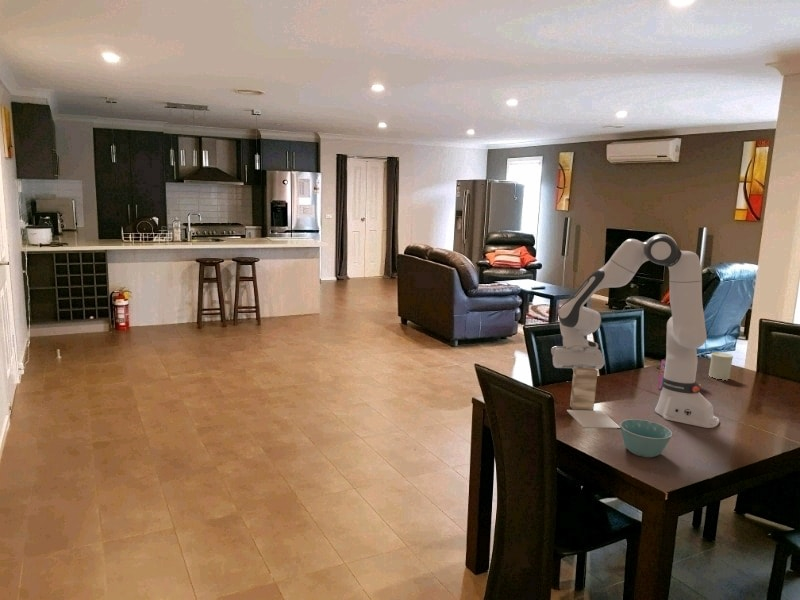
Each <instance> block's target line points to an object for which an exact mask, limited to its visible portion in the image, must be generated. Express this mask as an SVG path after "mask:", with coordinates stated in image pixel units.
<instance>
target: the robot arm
mask: <svg viewBox="0 0 800 600" xmlns="http://www.w3.org/2000/svg"><path fill="white" fill-rule="evenodd" d="M675 240H676V239H674V238H673V237H672V236H670V235H668V234H666V233H658V234H655V235H653V236H651V237H650V238H648V239H645V240H643V241H641V240H638V239H635V238H628V239H626V240H625V241H623V242H622V243H621V245H620V246H618V247H617V249H616V250H615V251H614V252H613V254H612V255H611V256H610V258H609V260H608V261H607V262H606V263H605V265H603V266H602V267H600V268H599V269H597V270H594V271H593V272H591V274H590V275H589V276H588V277H587V278H586V280H584V281H583V283H582V284H581V285H580V286H579V287H578V289H576V291H575V292H574V293H573V294H572V295H571V297H570V298H569V299H567V300H566V301H565V302H564V303H563V304H562V305H560V307H559V309H558V314H557V315H558V316H557V317H558V319H559V329H560V330H559V331H560V334H561V336H562V346H561V345H560V346H558V345H555V346H554V345H553V347H551V348H550V353H551V355H552V365H553V367H554V368H556V369H572V371H574V368H594V369H595V370H601V369H602V368H603V367H604V366H605V359H604V356H603V354H602V351H601V350H600V349H599V344H598V343H597V342H595V341H591V340H588V339H586V338H585V336H589V335H591V334H594V333H595V332H596V331H598V330H599V329H600V328H601V325H602V315H601V313H600V312H599V311H597V310H595V309H593V308H589V307H587V306H584V305H585V304H587V302H588V301H589V300H590V299H591V298H592V296H593V295H594V294H595V293H596V292H597V291H599V290H602V289H606V288H607V289H609V288H621V287H624V286H626V285H628V284H629V283H630V282H631V281H632V279H633V278H634V277H635V275H636V273H637V272H638V270H639V269H640V267H641V266H642V265H643V264H644V263H646V262H648V261H650V262H652V263H654V264H656V265H659V266H665V267H668V271H669V272H668V274H669V275H668V276H669V279H668V281H669V285H668V286H669V304H670V310H671V316H670V317H669V319H668V320H667V322H666V337H665V338H666V343H665V346H666V348H665V351H666V353H665V355H666V356H665V359H666V363H665V371H664V376H663V378H662V382H661V390H660V394H659V398H658V401H657V404H656V407H655V409H654V412H655V413H656V414H658V415H659V416H661V417H662V418H663V419H665V420H668V421H672V422H677V423H682V424H685V425H686V424H687V425H691V426H695V427H701V428H704V429H705V428H706V429H709V428H710V429H711V428H716V427H717V426H718V425H719V423H720V419H719V417H717V416H715V415H714V406H713V404H712V403H711V402H710V401H709V400H708V399H707V398H706V397H704V395H702V393H701V392H700V391H701V385H702V384H701V383H698V382H697V381H696V378H697V377H696V375H697V370H698V364H699V363H698V359H697V356H698V353H697V352H698V351H697V350H698V349H699V348H701V347H702V346H703V345H704V344H705V343H706V341H707V335H708V334H707V330H706V329H707V328H706V320H705V313H704V308H703V307H704V306H703V276H702V274H703V273H702V265H701V261H700V257H699V255H698V254H697V253H696V252H694V251H691V250H681V249H680V248H679V246H678V244H677V242H676V241H675Z"/></svg>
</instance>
